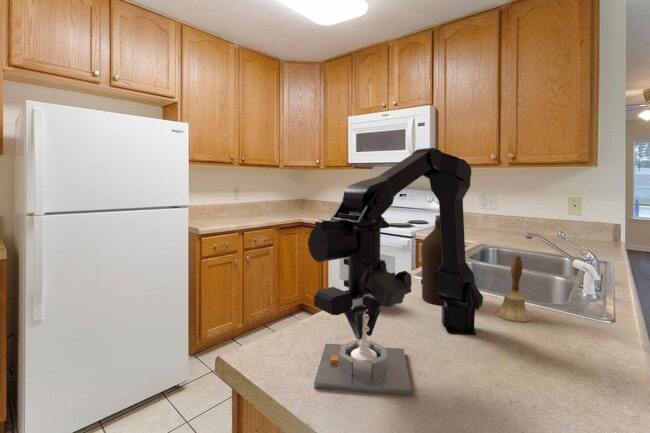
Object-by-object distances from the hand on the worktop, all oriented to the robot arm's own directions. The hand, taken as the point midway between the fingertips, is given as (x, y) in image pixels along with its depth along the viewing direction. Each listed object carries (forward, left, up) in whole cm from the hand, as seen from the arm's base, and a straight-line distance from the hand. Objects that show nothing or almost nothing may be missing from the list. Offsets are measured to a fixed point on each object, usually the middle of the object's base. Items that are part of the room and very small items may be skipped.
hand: (363, 337), depth 63 cm
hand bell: (-38, -31, -7) cm, 49 cm away
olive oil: (-21, -41, -6) cm, 46 cm away
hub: (0, 0, -6) cm, 6 cm away
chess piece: (0, 0, -4) cm, 4 cm away
